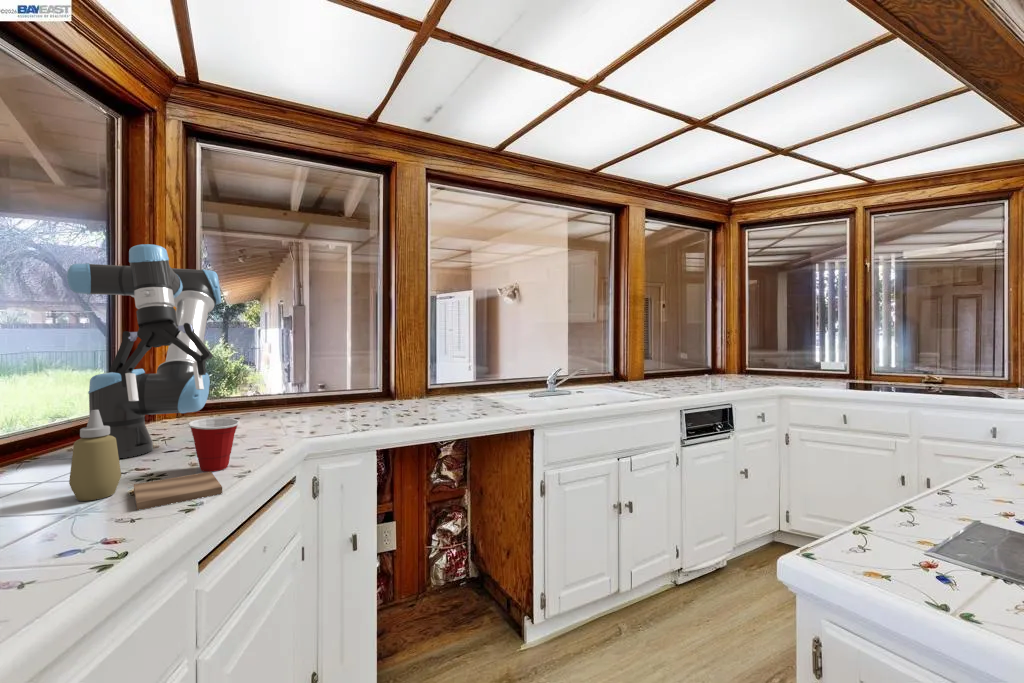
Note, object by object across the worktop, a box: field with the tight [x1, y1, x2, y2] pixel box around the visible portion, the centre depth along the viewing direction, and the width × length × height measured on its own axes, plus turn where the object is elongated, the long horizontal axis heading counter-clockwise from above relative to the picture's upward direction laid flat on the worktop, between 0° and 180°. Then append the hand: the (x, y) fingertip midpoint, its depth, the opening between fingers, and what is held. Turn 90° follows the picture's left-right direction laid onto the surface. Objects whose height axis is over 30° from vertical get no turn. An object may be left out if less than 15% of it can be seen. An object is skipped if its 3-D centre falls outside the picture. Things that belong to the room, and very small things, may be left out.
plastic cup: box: [188, 417, 241, 473], centre depth 115 cm, size 11×11×12 cm
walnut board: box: [133, 471, 223, 511], centre depth 98 cm, size 14×14×2 cm
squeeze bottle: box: [68, 410, 122, 502], centre depth 95 cm, size 8×8×18 cm
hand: (167, 395), depth 109 cm, fingers open, 13 cm apart
